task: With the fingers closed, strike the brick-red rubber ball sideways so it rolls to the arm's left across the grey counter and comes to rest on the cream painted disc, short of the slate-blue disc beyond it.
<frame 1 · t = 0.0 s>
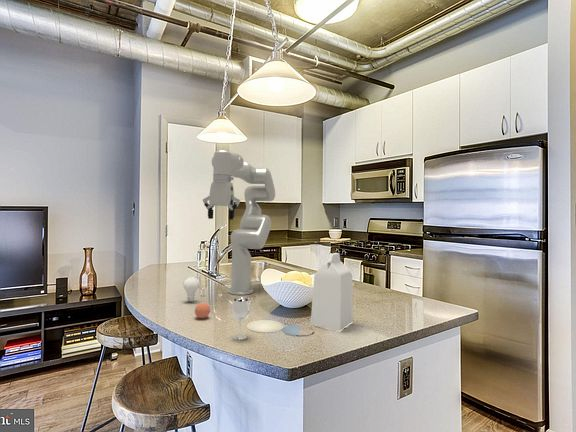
hand: (220, 219, 148), 37 cm above the countertop, tool pointing down, fingers open, 9 cm apart
wineglass: (239, 337, 109), on the countertop
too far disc: (298, 330, 117), on the countertop
milk: (332, 325, 125), on the countertop
light bulb: (190, 302, 149), on the countertop
ball: (202, 310, 128), on the countertop
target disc: (265, 326, 121), on the countertop
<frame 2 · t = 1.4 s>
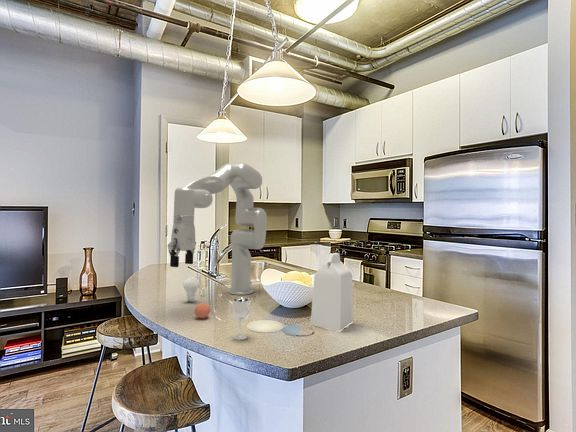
hand: (181, 265, 130), 19 cm above the countertop, tool pointing down, fingers open, 9 cm apart
nothing on the countertop moved.
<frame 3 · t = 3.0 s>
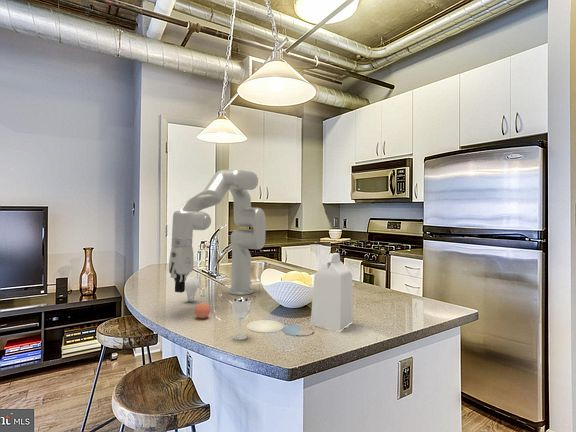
hand: (179, 291, 130), 9 cm above the countertop, tool pointing down, fingers closed
nothing on the countertop moved.
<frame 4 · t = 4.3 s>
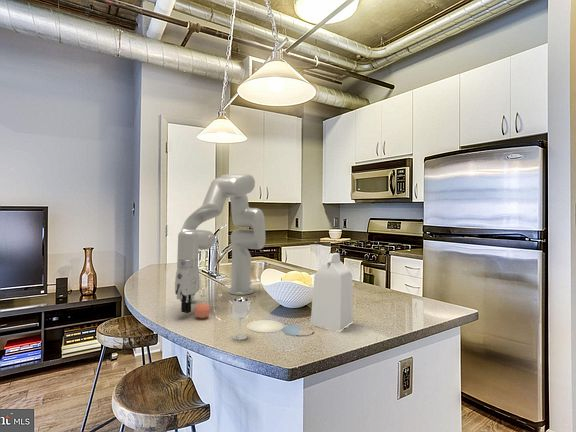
hand: (186, 312, 129), 1 cm above the countertop, tool pointing down, fingers closed
nothing on the countertop moved.
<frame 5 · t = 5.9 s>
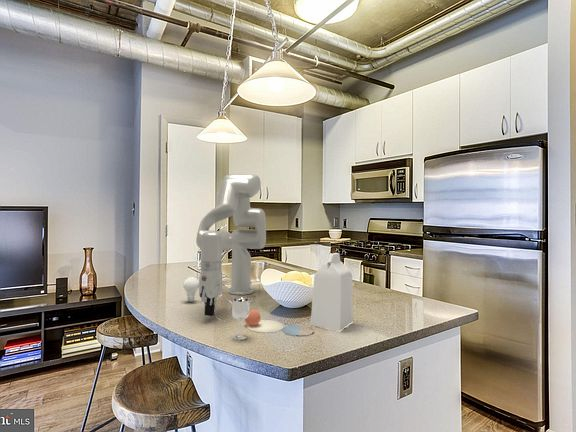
hand: (209, 315, 127), 2 cm above the countertop, tool pointing down, fingers closed
ball: (252, 317, 121), on the countertop
everything else where it was.
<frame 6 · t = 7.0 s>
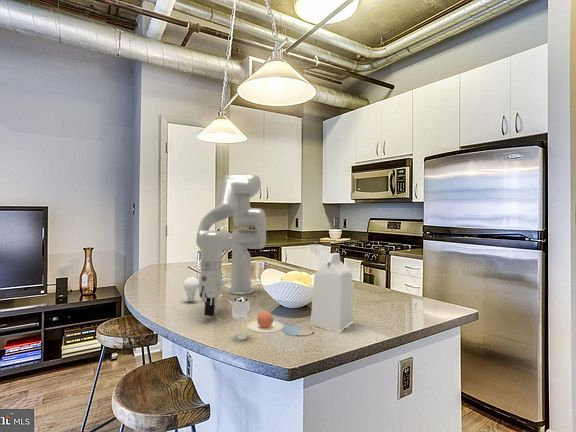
hand: (209, 315, 127), 2 cm above the countertop, tool pointing down, fingers closed
ball: (265, 319, 119), on the countertop
everything else where it was.
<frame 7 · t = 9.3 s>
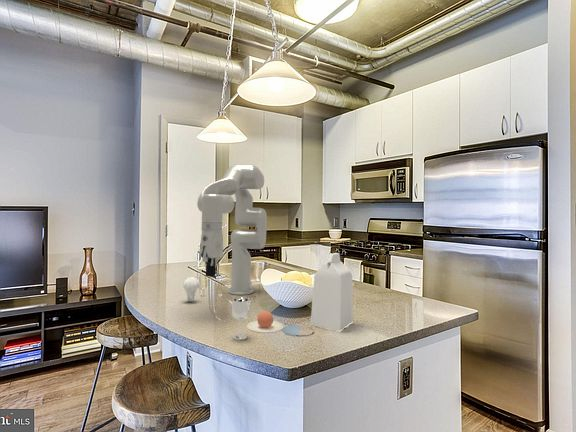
hand: (210, 275, 128), 16 cm above the countertop, tool pointing down, fingers closed
nothing on the countertop moved.
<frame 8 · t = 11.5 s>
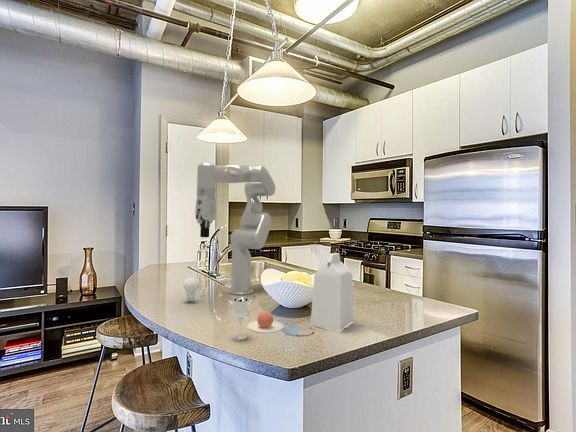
hand: (204, 237, 143), 29 cm above the countertop, tool pointing down, fingers closed
nothing on the countertop moved.
at the end: ball 1.4 cm from the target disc (horizontally); ball at rest at the end (0.0 cm/s); ball moved 25.4 cm from its start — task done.
